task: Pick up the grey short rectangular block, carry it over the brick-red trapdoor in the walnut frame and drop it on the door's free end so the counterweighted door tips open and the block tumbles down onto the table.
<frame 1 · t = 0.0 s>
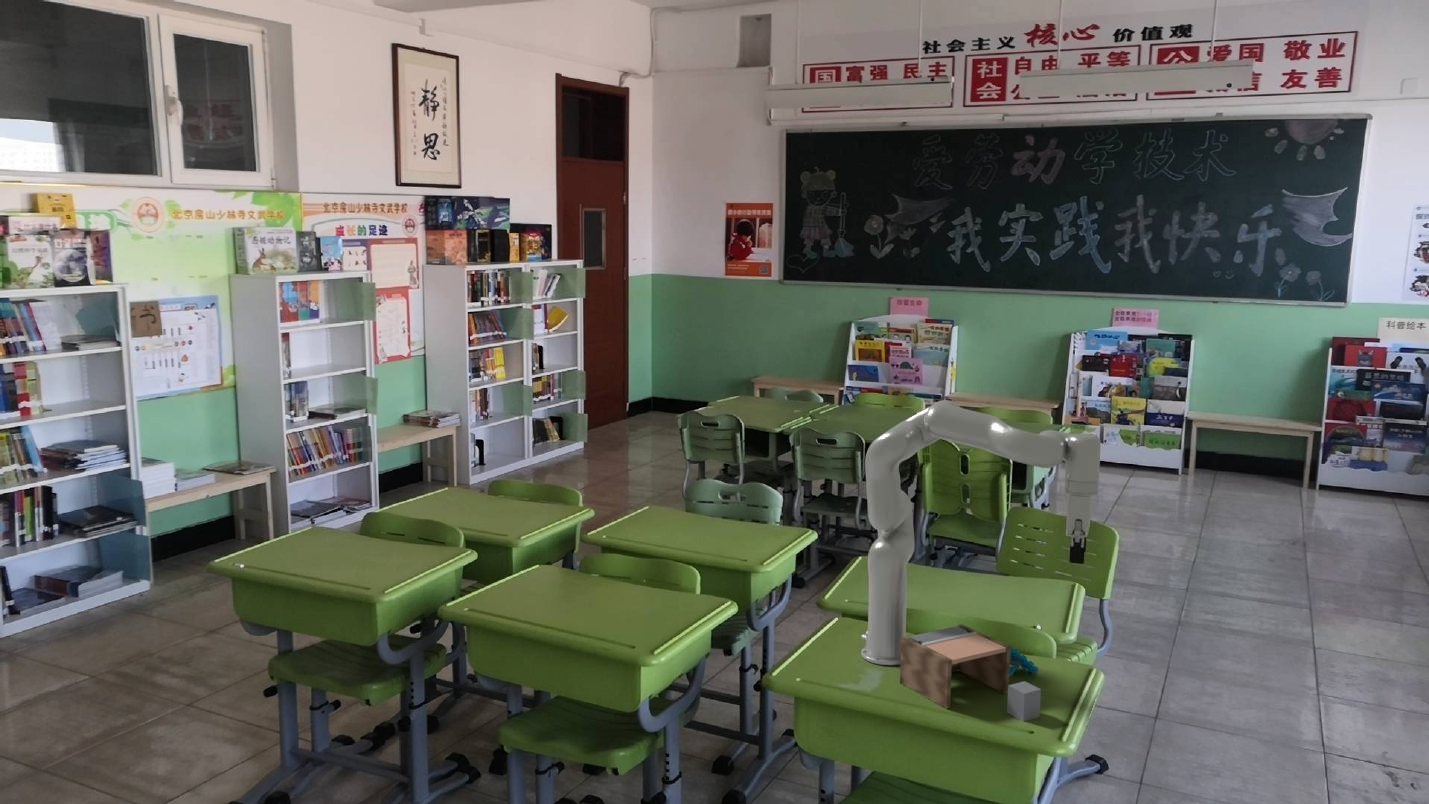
hand: (1077, 557, 249), 31 cm above the table, tool pointing down, fingers open, 9 cm apart
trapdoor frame: (948, 685, 252), on the table
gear: (1017, 674, 260), on the table
grey short rectangular block: (1023, 701, 236), point 3 cm above the table
trapdoor: (955, 648, 249), point 10 cm above the table, hinge at 0.0°
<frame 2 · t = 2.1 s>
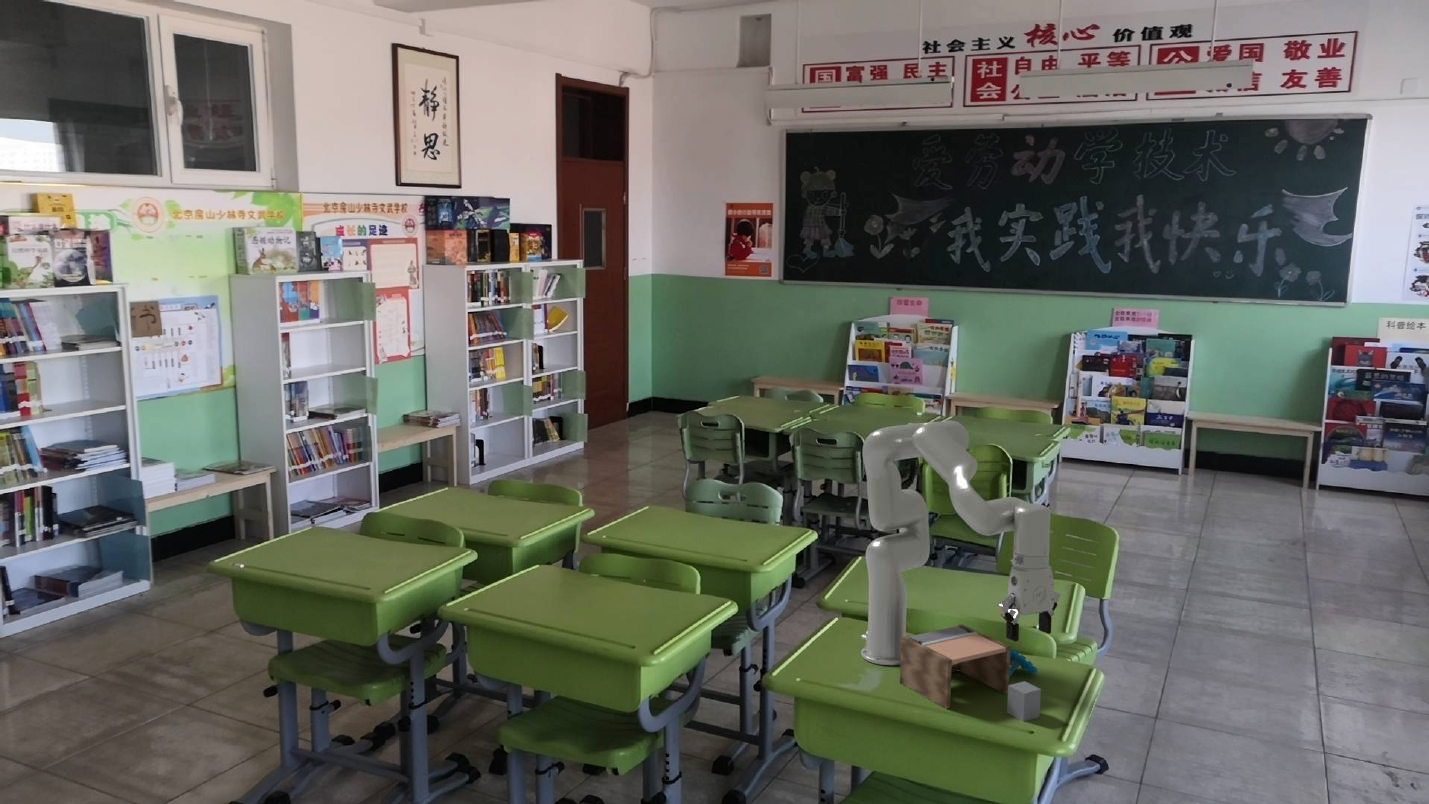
hand: (1028, 635, 233), 19 cm above the table, tool pointing down, fingers open, 9 cm apart
nothing on the table moved.
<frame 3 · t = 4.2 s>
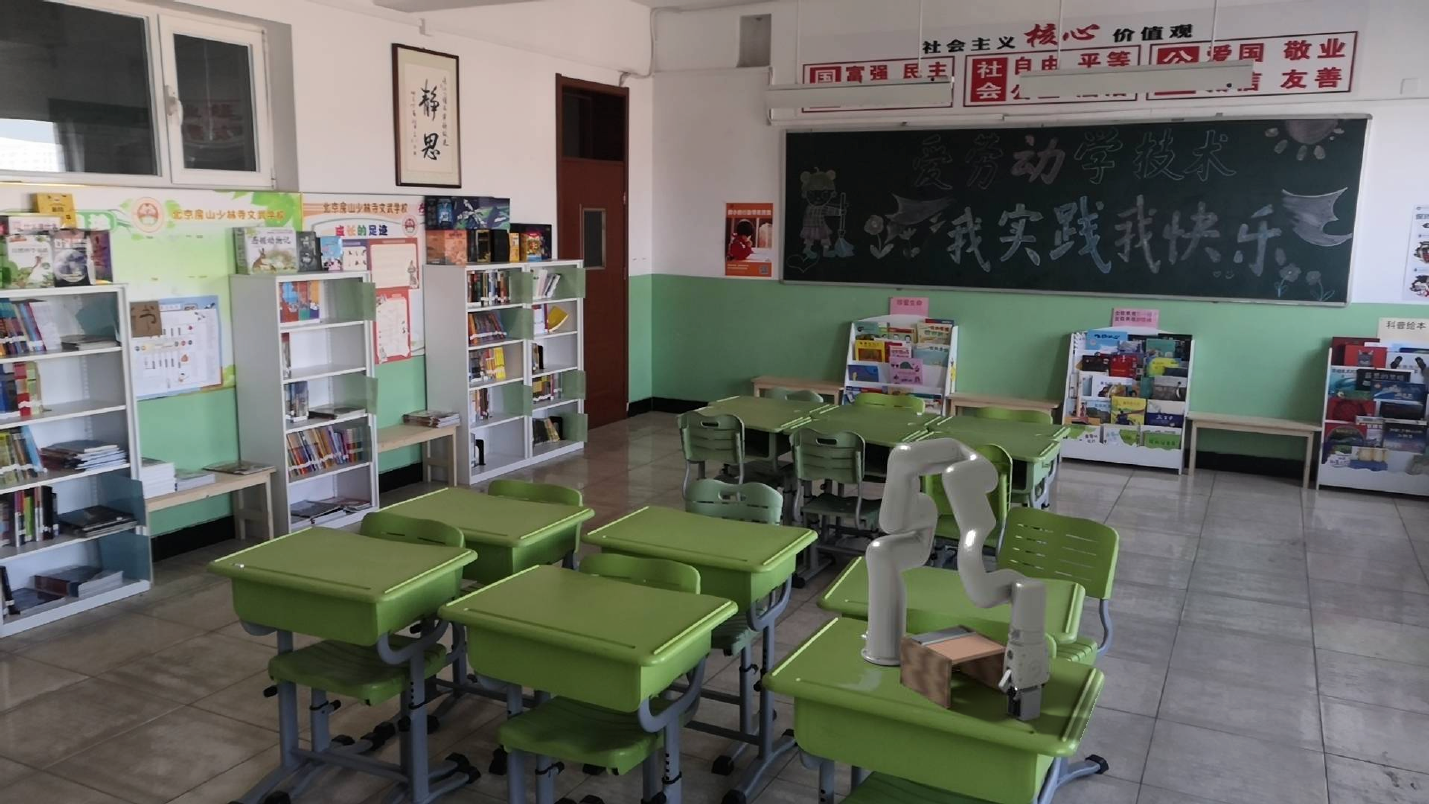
hand: (1023, 711, 236), 1 cm above the table, tool pointing down, fingers closed on grey short rectangular block, 5 cm apart
grey short rectangular block: (1023, 700, 236), point 3 cm above the table, touching gripper
everything else where it was.
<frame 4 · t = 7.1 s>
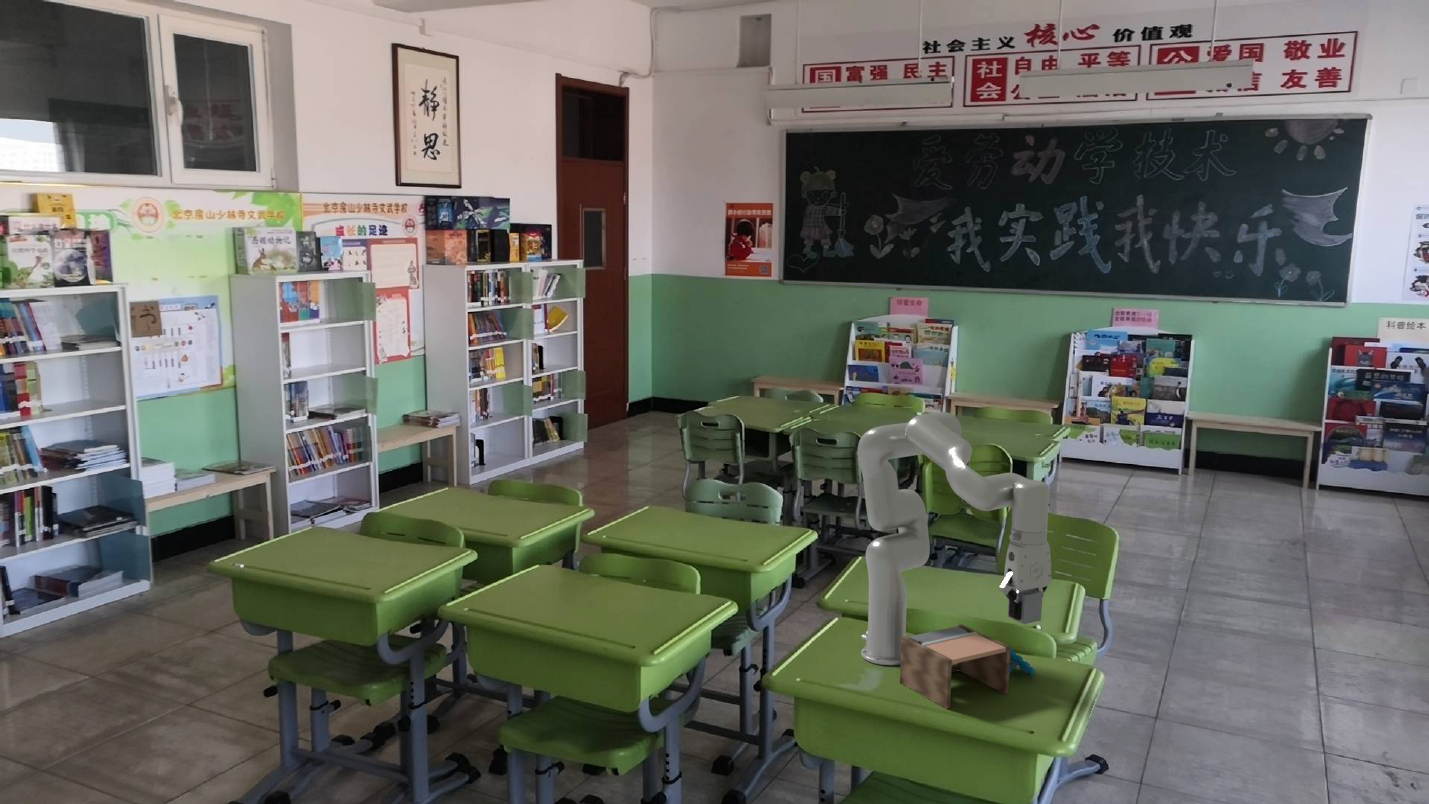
hand: (1024, 615, 234), 23 cm above the table, tool pointing down, fingers closed on grey short rectangular block, 5 cm apart
grey short rectangular block: (1025, 604, 233), point 25 cm above the table, touching gripper
everything else where it was.
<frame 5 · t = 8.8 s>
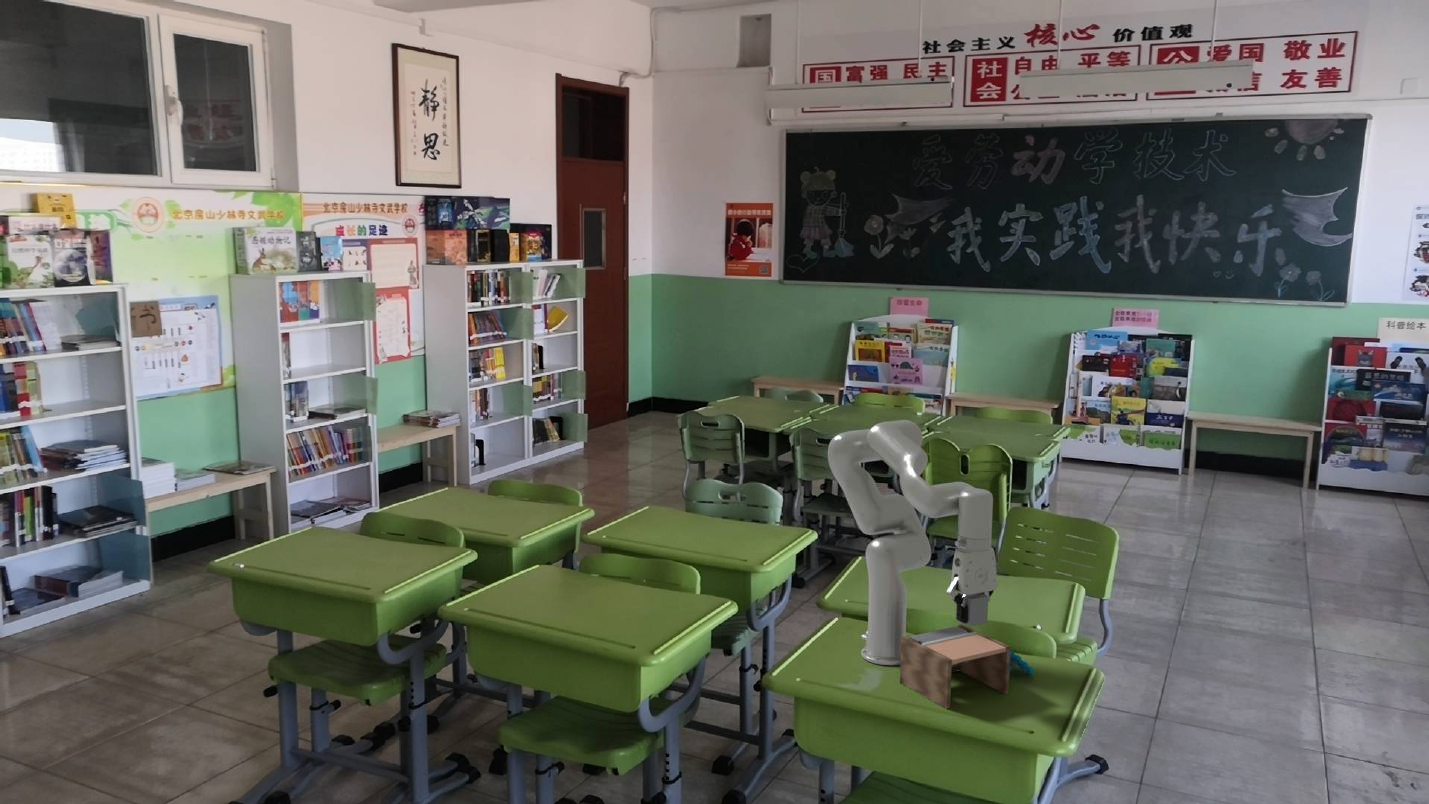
hand: (971, 618, 244), 19 cm above the table, tool pointing down, fingers closed on grey short rectangular block, 5 cm apart
grey short rectangular block: (971, 608, 243), point 21 cm above the table, touching gripper
everything else where it was.
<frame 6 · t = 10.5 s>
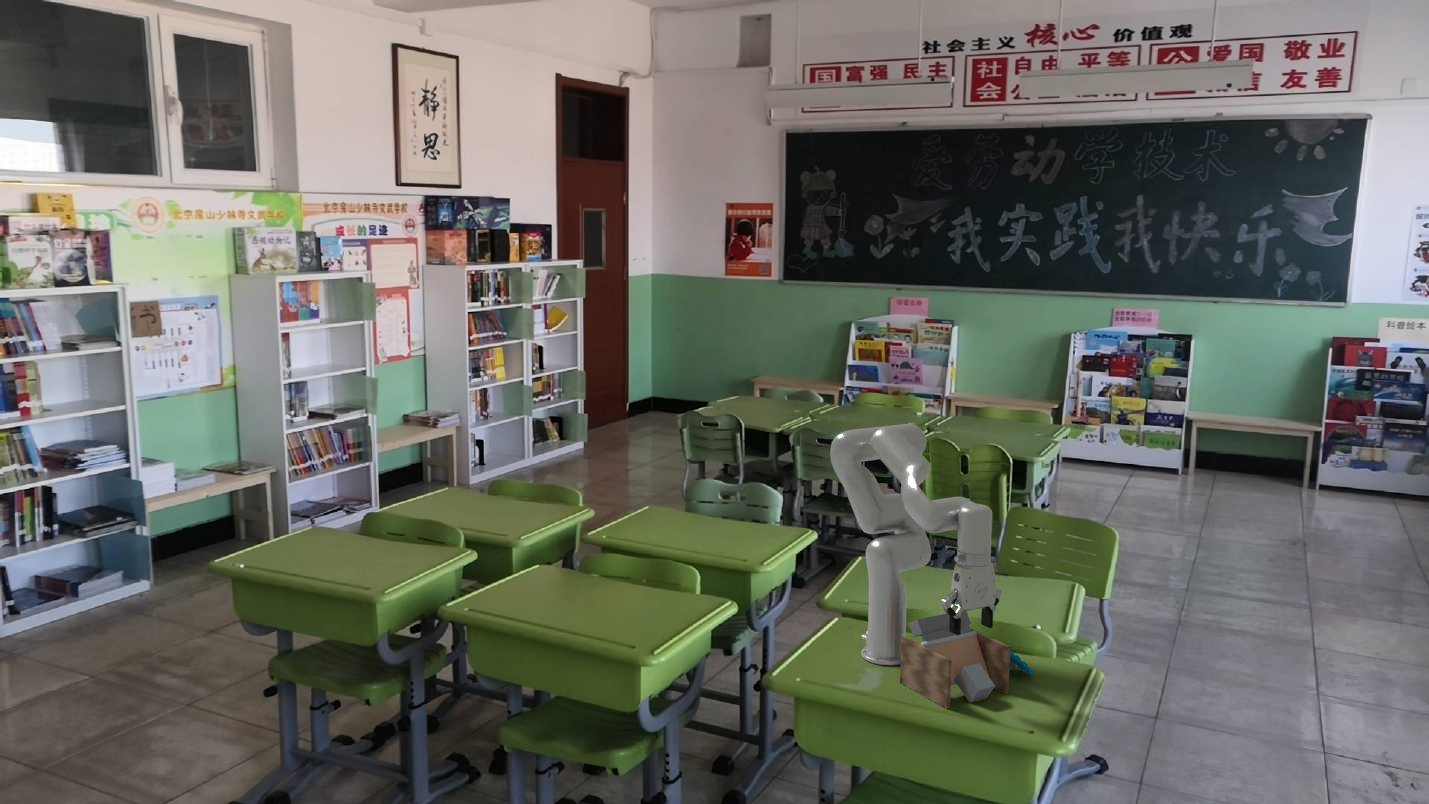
hand: (970, 629, 244), 16 cm above the table, tool pointing down, fingers open, 9 cm apart
grey short rectangular block: (974, 682, 244), point 4 cm above the table, tilted 124°, touching trapdoor
trapdoor: (948, 649, 251), point 9 cm above the table, hinge at -59.5°, touching grey short rectangular block
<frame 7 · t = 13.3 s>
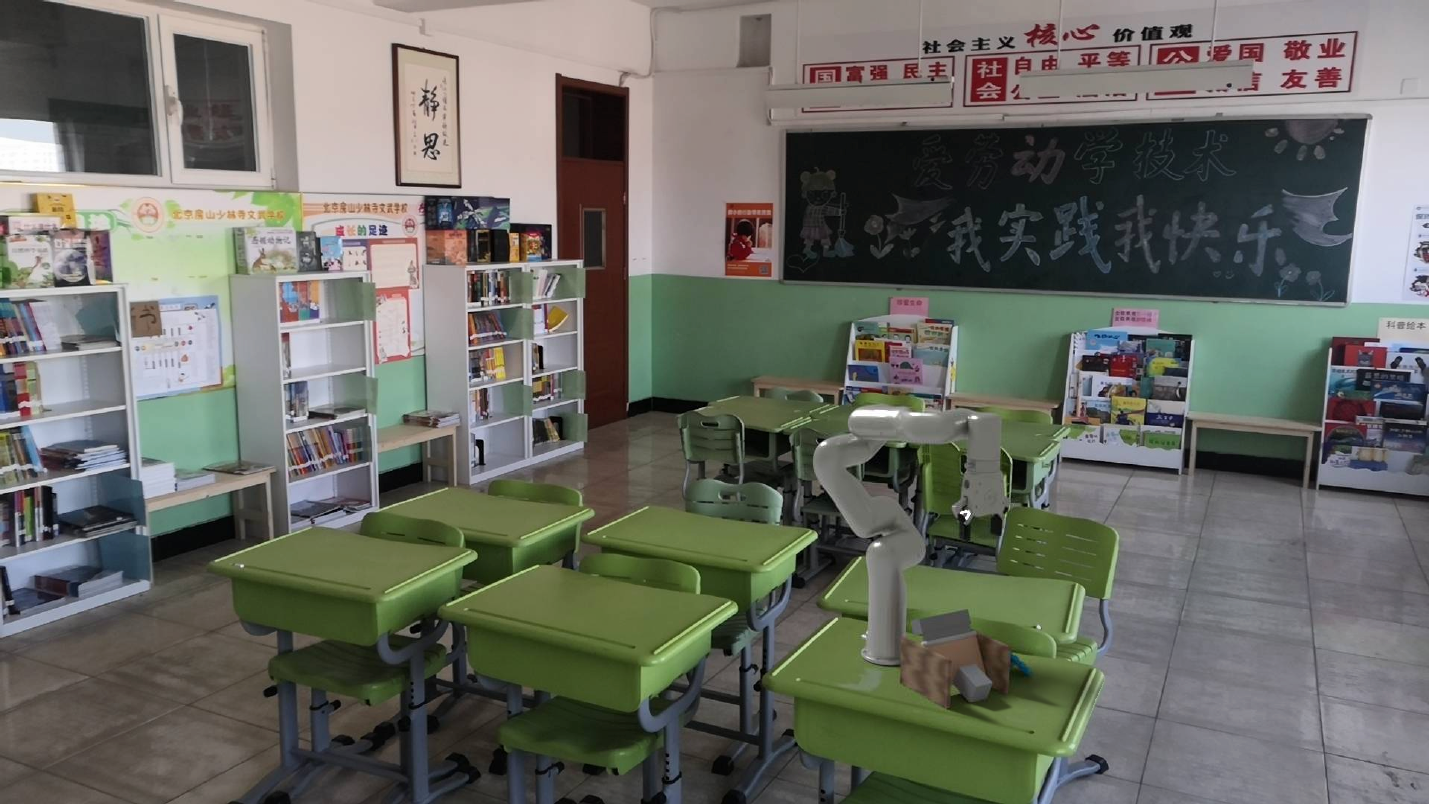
hand: (980, 537, 248), 36 cm above the table, tool pointing down, fingers open, 9 cm apart
grey short rectangular block: (972, 683, 245), point 4 cm above the table, tilted 112°, touching trapdoor
trapdoor: (948, 648, 252), point 9 cm above the table, hinge at -65.5°, touching grey short rectangular block
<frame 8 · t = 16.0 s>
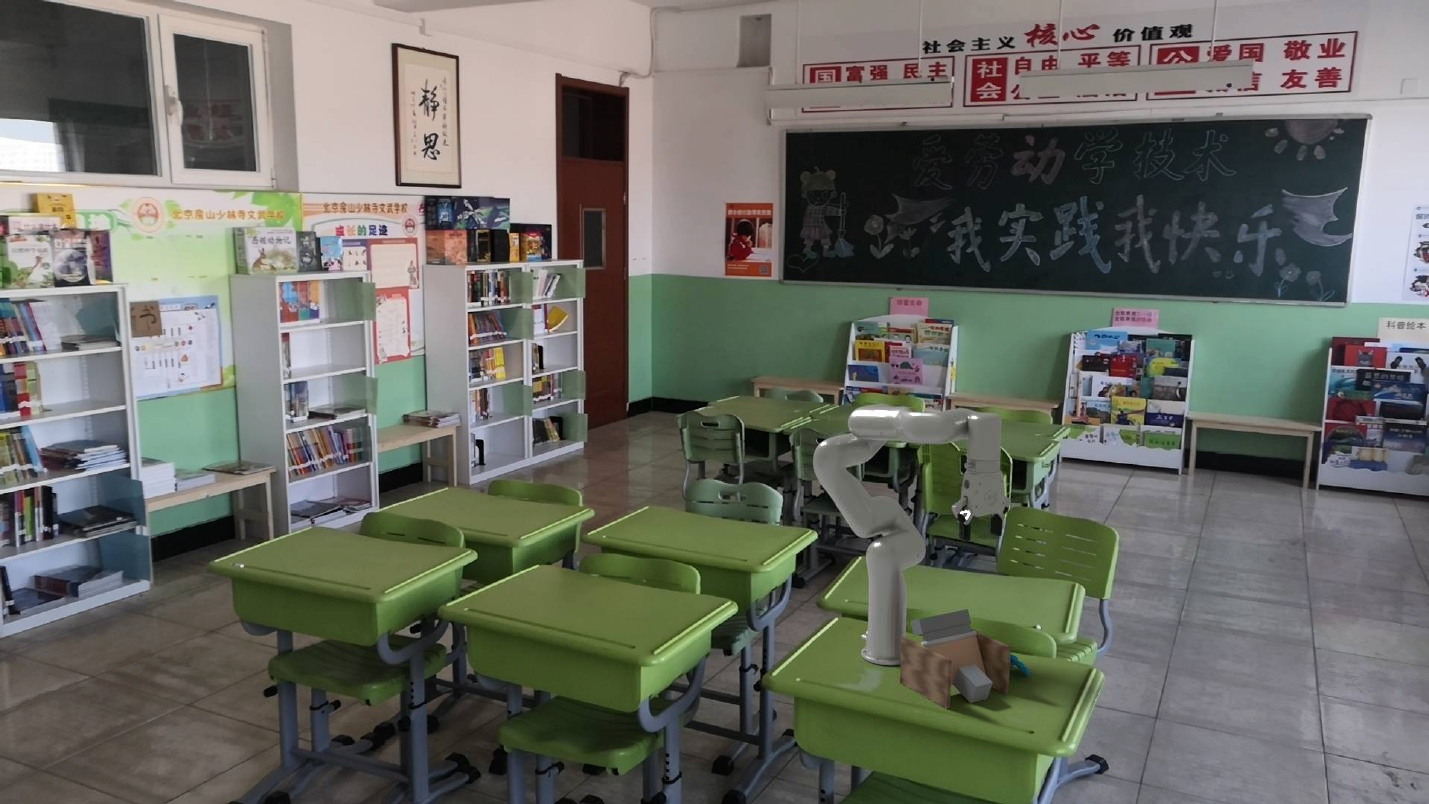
hand: (980, 537, 248), 36 cm above the table, tool pointing down, fingers open, 9 cm apart
at the end: grey short rectangular block inside the target area (0.7 cm from its centre), point 3.4 cm above the table; the gripper is holding nothing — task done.
